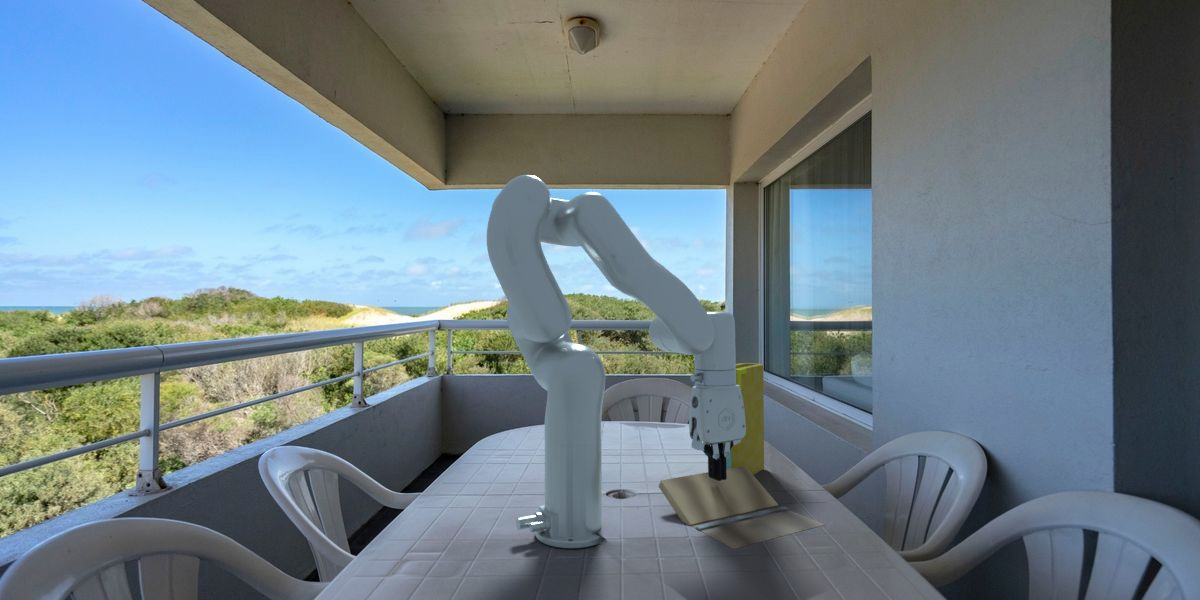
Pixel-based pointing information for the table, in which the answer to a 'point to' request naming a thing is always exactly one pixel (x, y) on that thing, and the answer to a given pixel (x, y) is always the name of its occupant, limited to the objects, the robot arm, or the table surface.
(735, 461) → the book
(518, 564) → the table surface
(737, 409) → the robot arm
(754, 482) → the board
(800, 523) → the laid plank
